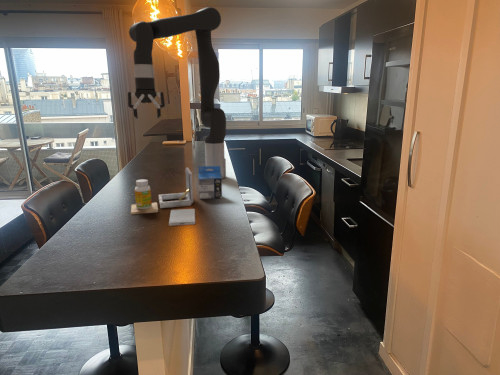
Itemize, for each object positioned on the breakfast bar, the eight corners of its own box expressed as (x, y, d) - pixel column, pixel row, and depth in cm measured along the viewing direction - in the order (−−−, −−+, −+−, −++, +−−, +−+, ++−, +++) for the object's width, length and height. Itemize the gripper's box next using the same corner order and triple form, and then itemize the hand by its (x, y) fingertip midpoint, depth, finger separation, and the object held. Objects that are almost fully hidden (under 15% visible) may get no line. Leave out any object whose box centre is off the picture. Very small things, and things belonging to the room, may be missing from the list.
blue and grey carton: (199, 199, 136) (198, 168, 133) (199, 196, 140) (197, 166, 137) (222, 198, 137) (221, 167, 134) (221, 195, 141) (220, 165, 138)
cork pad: (157, 204, 130) (156, 202, 130) (158, 212, 122) (158, 209, 121) (131, 206, 127) (131, 204, 127) (131, 214, 119) (130, 212, 119)
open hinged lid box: (189, 197, 139) (187, 167, 136) (193, 205, 129) (191, 173, 126) (158, 199, 136) (156, 169, 133) (160, 208, 126) (158, 175, 123)
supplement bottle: (143, 210, 121) (141, 183, 118) (132, 207, 124) (130, 181, 121) (155, 206, 125) (153, 179, 123) (144, 203, 128) (142, 178, 125)
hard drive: (170, 209, 121) (168, 222, 109) (194, 208, 122) (195, 221, 110) (171, 214, 121) (169, 227, 109) (194, 213, 122) (195, 225, 111)
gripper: (125, 76, 134) (129, 119, 138) (163, 76, 138) (166, 118, 142) (126, 77, 141) (129, 118, 145) (162, 77, 145) (164, 117, 149)
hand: (147, 118), depth 144 cm, fingers open, 8 cm apart
